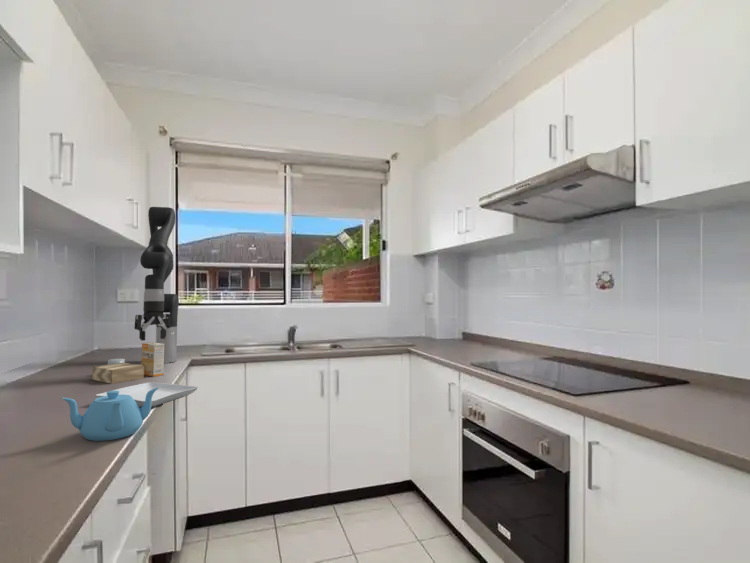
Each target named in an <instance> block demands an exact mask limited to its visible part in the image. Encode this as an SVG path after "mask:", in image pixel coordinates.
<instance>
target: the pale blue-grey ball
mask: <svg viewBox="0 0 750 563" xmlns="http://www.w3.org/2000/svg"><path fill="white" fill-rule="evenodd" d="M125 360H126V359H125V358H110V359H108V360H107V365H109V364H117V363H126V361H125Z"/></svg>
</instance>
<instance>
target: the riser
mask: <svg viewBox="0 0 750 563" xmlns="http://www.w3.org/2000/svg"><path fill="white" fill-rule="evenodd" d="M144 376H145V375H144V366H143V365H141V364H137V363H136V364H135V363H130V362H125V363H117V364H109V365H108V364H103V365H93V366H92V378H91V379H92V380H93V381H99V382H102V383H107V384H111V385H115V384H119V383H124V382H130V381H131V380H132V381H136V380H143V379H145V378H144Z"/></svg>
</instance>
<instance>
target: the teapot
mask: <svg viewBox="0 0 750 563" xmlns="http://www.w3.org/2000/svg"><path fill="white" fill-rule="evenodd" d="M158 388H159V387H158ZM158 388H154V389H152V390H150V391H149V392H148V393H147V394H146V398H145V404H144V406H143V407H139V406H138V405H137V403H136V402H135V400H134V399H133V398H132V397H131V396H130V395H118V394H119V391H112V390H108V391H106V392H107V395H108V396H103V397H99V398H97V397H96V398H95V399H93V401H92V402H91V403H90V404H89V406H88V408H87V409H86V410H85V412H84V413H83V415H81V414H80V413H79V411H78V404H77V403H78V402H77V401H76V400H75V399H74V398H70V397H61V398H62V399H63V400H64V401H65V402H66V403H67V404H68V406H69V411H70V412H69V413H70V414H69V415H70V416H69V418H70V422H71V424H72V426H73V427H74V428H76V429H78V430H79V433H80V434H81V436H82V437H84V438H85V439H86V440H88V441H95V442H100V441H101V442H102V441H112V440H113V441H114V440H118V439H122V438H127V437H129V436H132V435H133V434H135V433H137V431H138V430H139V429H140V428H141V427H142V426H143V423H144V421H145V420H146V419H147V418H148V416H149V415H150V413H151V411H152V407H151V402H152V396H153V394H154V392H155V391H156V390H157V389H158Z"/></svg>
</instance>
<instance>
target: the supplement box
mask: <svg viewBox="0 0 750 563" xmlns="http://www.w3.org/2000/svg"><path fill="white" fill-rule="evenodd" d="M140 365H143V366H144V376H149V377H153V378H154V377H159V376H160V375H161V376H164V367H165V366H164V365H165V363H164V344H161V343H155V342H152V341H151V342H142V343H141V363H140Z"/></svg>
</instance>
